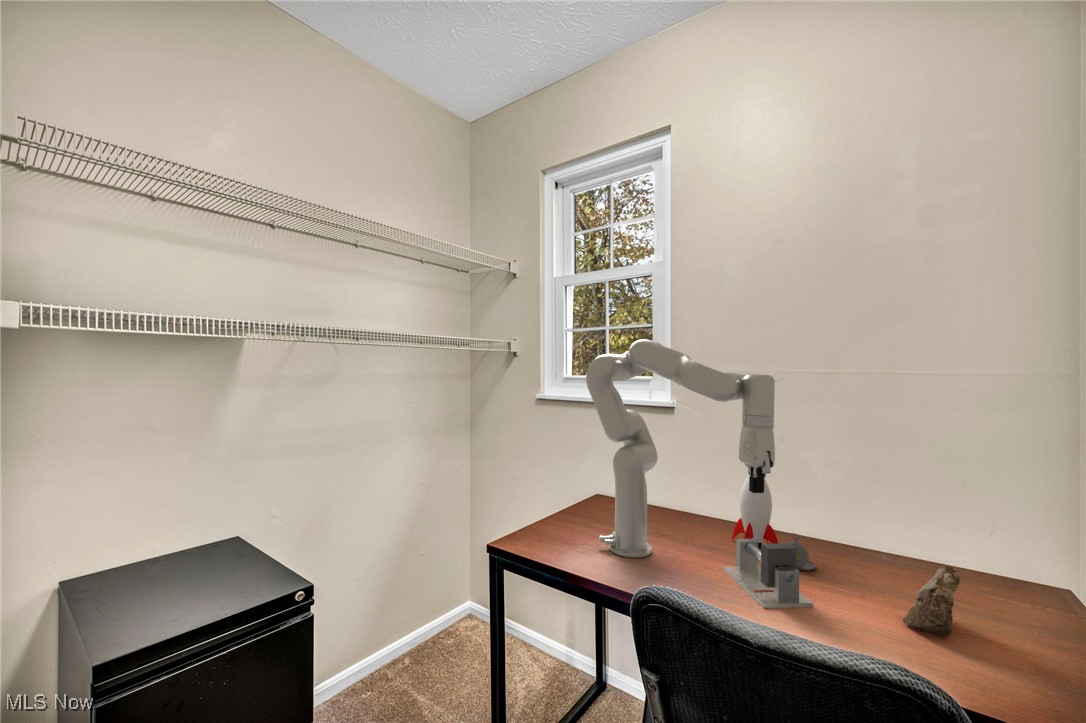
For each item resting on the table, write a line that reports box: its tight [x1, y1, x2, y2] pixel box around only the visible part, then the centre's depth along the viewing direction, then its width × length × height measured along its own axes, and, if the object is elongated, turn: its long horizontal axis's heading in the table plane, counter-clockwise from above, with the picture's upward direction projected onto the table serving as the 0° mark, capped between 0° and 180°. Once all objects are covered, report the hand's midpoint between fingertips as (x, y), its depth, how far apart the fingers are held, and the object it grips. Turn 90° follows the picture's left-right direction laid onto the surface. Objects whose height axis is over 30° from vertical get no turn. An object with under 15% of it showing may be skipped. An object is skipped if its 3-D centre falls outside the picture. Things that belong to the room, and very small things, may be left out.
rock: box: [902, 565, 961, 637], centre depth 101 cm, size 15×8×15 cm
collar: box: [760, 542, 797, 588], centre depth 112 cm, size 7×3×9 cm, turn 94°
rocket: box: [731, 474, 779, 549], centre depth 144 cm, size 11×11×25 cm
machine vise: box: [723, 538, 814, 609], centre depth 118 cm, size 12×20×8 cm, turn 4°
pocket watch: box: [787, 533, 816, 571], centre depth 130 cm, size 8×8×10 cm
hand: (756, 492), depth 122 cm, fingers closed
